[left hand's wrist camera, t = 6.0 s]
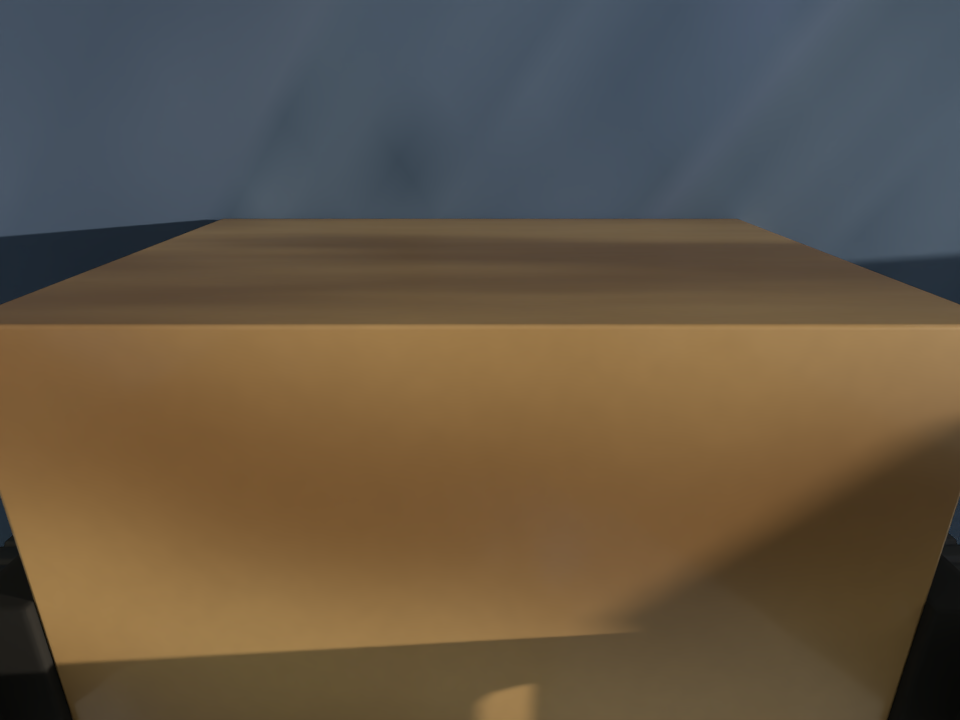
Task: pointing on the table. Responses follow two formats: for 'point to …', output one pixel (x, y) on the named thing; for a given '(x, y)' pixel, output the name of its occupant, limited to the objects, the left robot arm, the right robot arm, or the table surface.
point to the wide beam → (480, 472)
